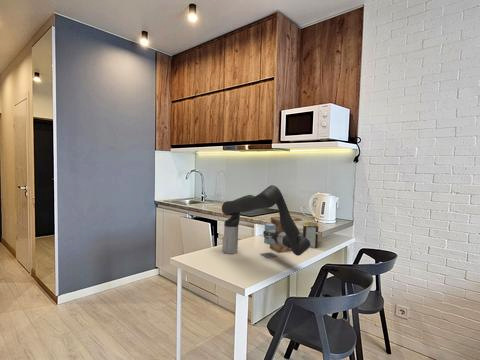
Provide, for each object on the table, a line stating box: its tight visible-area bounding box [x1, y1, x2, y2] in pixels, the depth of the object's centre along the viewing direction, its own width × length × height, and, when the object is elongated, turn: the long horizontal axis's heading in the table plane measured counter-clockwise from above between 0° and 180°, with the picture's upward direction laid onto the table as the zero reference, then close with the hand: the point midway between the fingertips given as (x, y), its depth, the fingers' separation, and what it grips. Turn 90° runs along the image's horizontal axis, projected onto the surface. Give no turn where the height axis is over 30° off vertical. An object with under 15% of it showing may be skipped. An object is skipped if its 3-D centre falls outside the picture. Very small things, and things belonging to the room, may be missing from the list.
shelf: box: [269, 215, 303, 254], centre depth 191 cm, size 18×11×22 cm, turn 116°
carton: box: [263, 223, 276, 246], centre depth 176 cm, size 5×5×12 cm
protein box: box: [302, 221, 319, 249], centre depth 205 cm, size 10×15×16 cm
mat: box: [260, 251, 278, 259], centre depth 177 cm, size 8×8×1 cm
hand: (267, 232), depth 178 cm, fingers closed on carton, 5 cm apart
